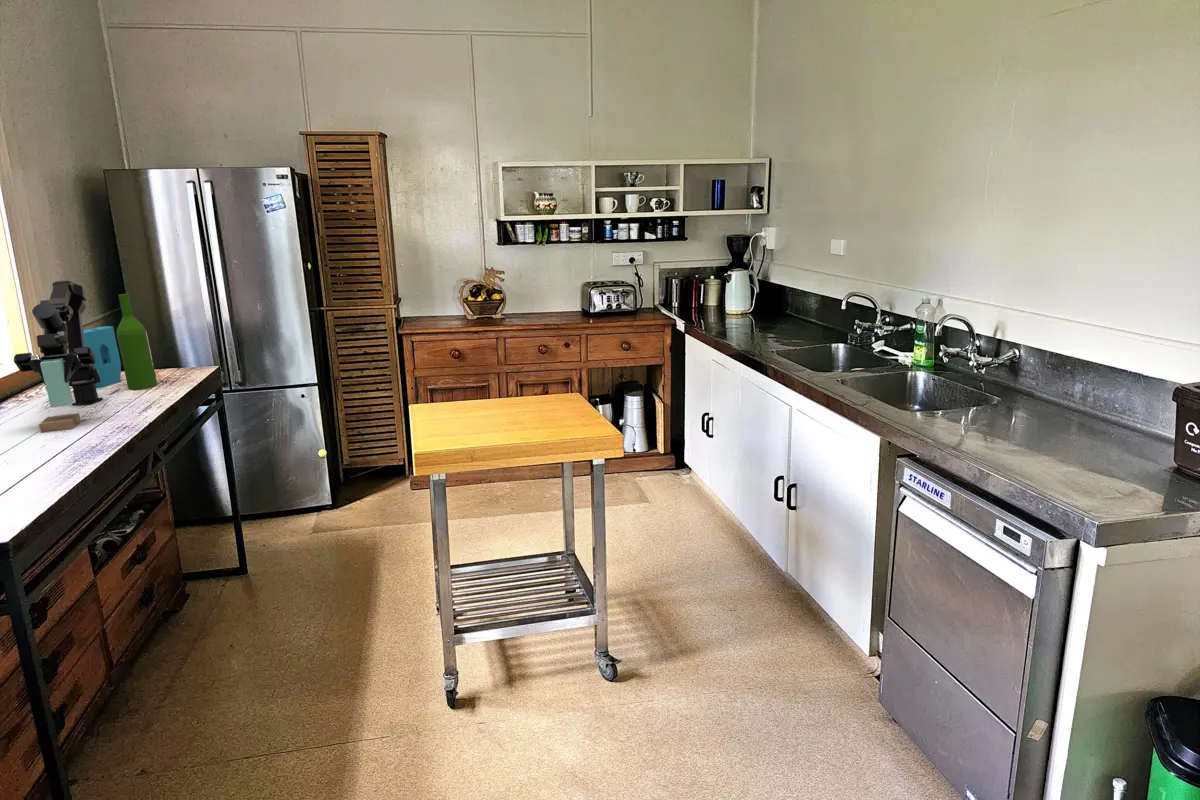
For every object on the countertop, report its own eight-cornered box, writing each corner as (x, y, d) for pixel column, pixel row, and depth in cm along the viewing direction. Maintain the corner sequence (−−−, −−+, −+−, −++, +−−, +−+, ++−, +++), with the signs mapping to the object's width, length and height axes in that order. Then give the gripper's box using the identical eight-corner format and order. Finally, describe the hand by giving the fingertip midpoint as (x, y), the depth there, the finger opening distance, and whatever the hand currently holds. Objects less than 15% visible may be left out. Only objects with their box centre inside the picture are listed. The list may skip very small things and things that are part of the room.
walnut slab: (50, 426, 227) (47, 416, 226) (81, 422, 230) (79, 413, 229) (41, 434, 220) (38, 424, 219) (73, 430, 222) (71, 420, 221)
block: (97, 389, 270) (84, 332, 265) (86, 388, 271) (73, 332, 266) (125, 380, 281) (114, 326, 276) (115, 380, 282) (103, 326, 277)
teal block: (54, 403, 224) (44, 360, 221) (73, 401, 226) (62, 358, 222) (50, 407, 220) (39, 363, 216) (69, 405, 222) (59, 361, 218)
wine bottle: (162, 385, 271) (143, 292, 262) (136, 391, 264) (116, 296, 255) (149, 382, 276) (130, 292, 267) (123, 388, 269) (102, 295, 260)
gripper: (6, 326, 217) (5, 372, 210) (84, 319, 223) (85, 363, 217) (21, 348, 226) (20, 393, 219) (95, 341, 233) (96, 384, 226)
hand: (55, 383), depth 220 cm, fingers closed on teal block, 5 cm apart
